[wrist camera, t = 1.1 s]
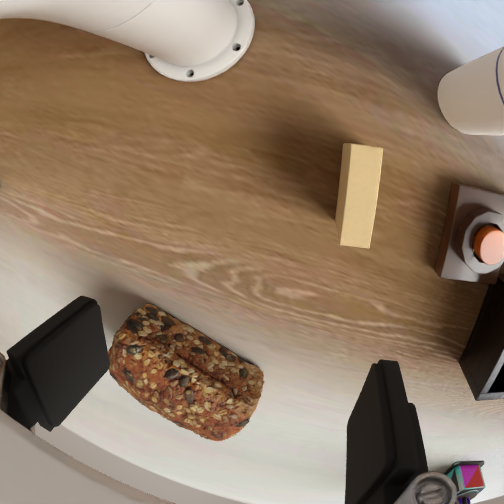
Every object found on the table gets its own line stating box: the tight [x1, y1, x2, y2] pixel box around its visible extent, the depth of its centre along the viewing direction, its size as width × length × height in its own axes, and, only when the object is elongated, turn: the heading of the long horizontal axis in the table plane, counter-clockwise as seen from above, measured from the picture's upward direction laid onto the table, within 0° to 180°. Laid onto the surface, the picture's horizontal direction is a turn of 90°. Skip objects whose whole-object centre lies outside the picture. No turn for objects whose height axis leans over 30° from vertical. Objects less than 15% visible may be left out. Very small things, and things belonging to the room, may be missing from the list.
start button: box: [473, 225, 504, 265], centre depth 25 cm, size 4×4×2 cm
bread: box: [108, 304, 264, 441], centre depth 37 cm, size 19×11×10 cm, turn 61°
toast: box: [335, 143, 383, 248], centre depth 27 cm, size 8×2×8 cm, turn 177°
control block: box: [434, 182, 504, 284], centre depth 27 cm, size 10×8×4 cm
